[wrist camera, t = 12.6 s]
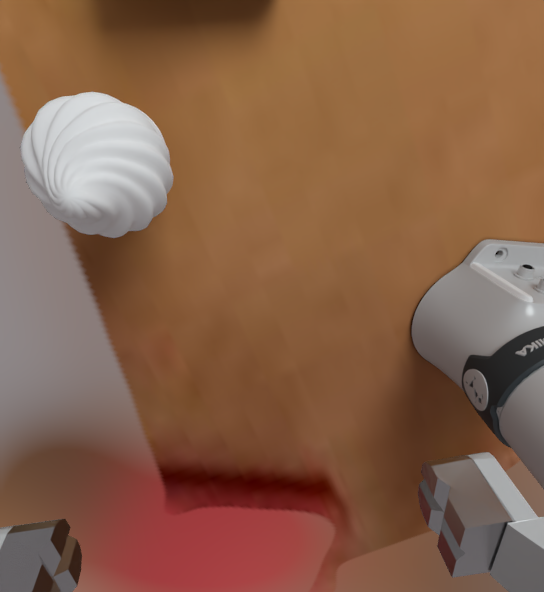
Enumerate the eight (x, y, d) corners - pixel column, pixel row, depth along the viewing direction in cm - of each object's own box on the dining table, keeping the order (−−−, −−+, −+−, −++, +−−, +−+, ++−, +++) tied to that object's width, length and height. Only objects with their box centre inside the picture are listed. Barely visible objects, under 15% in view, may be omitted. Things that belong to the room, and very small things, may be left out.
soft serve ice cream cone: (113, 58, 31) (33, 52, 17) (204, 133, 34) (198, 179, 21) (59, 148, 34) (-50, 206, 20) (149, 210, 37) (109, 297, 23)
